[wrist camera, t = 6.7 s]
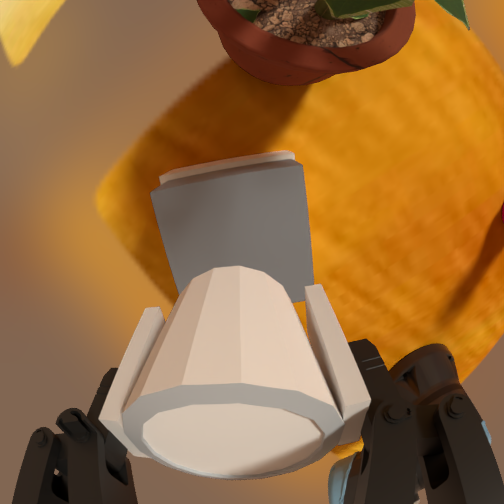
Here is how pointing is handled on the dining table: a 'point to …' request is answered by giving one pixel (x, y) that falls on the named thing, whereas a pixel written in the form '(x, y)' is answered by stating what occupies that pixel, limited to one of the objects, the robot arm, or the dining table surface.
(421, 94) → the dining table surface
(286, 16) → the potted plant
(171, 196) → the tower top
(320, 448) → the white cup
